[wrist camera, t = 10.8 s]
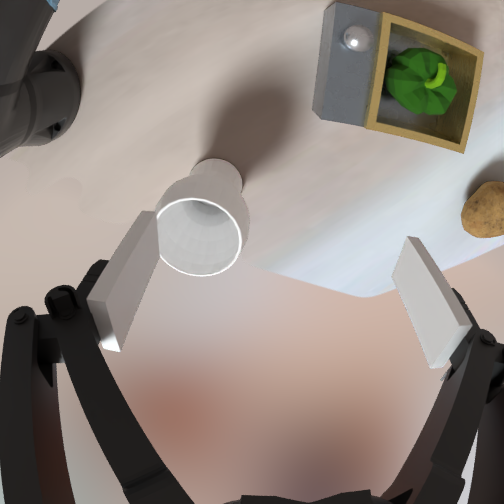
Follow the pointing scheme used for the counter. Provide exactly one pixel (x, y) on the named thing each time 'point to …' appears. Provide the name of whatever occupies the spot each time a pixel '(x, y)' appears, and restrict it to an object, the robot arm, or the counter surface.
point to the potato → (485, 211)
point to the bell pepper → (421, 81)
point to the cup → (203, 220)
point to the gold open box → (373, 70)
